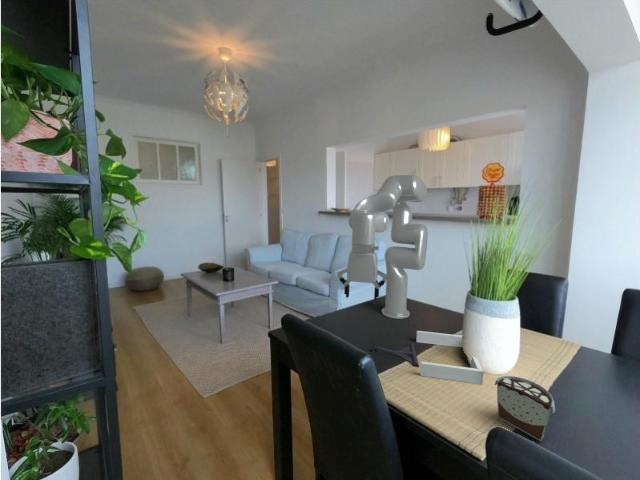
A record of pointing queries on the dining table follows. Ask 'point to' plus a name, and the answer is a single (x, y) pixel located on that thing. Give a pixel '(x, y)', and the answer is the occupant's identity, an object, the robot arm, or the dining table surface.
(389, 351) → the bracket
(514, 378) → the mint chocolate cake slice
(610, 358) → the dining table surface
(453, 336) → the box
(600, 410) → the dining table surface
